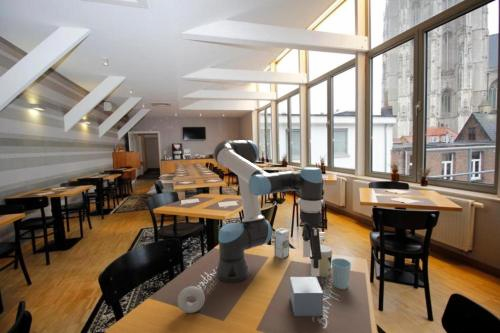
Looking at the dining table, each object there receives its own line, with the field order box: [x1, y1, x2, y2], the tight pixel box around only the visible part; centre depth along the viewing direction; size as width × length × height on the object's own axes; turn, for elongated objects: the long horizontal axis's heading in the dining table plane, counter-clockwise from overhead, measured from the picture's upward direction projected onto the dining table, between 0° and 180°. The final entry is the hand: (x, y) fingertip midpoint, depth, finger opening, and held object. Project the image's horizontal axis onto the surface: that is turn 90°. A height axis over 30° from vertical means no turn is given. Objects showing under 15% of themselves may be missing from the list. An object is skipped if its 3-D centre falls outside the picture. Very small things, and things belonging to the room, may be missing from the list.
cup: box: [331, 257, 352, 290], centre depth 104 cm, size 8×8×10 cm
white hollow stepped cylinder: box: [319, 231, 326, 244], centre depth 127 cm, size 7×7×15 cm
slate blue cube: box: [289, 276, 324, 317], centre depth 91 cm, size 10×10×9 cm
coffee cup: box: [318, 243, 333, 277], centre depth 115 cm, size 9×9×12 cm
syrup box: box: [274, 227, 290, 260], centre depth 132 cm, size 6×6×14 cm
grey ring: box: [176, 285, 206, 314], centre depth 90 cm, size 10×4×10 cm, turn 100°
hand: (310, 265), depth 90 cm, fingers open, 13 cm apart
